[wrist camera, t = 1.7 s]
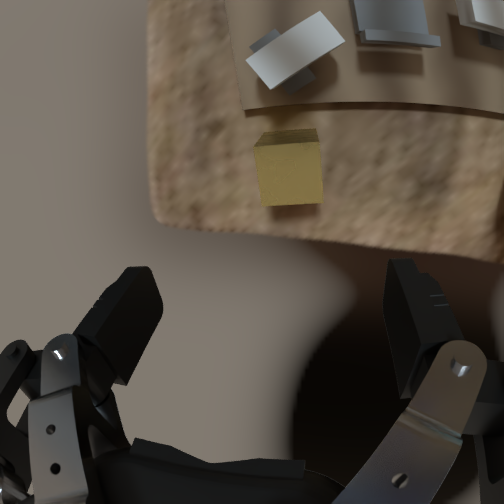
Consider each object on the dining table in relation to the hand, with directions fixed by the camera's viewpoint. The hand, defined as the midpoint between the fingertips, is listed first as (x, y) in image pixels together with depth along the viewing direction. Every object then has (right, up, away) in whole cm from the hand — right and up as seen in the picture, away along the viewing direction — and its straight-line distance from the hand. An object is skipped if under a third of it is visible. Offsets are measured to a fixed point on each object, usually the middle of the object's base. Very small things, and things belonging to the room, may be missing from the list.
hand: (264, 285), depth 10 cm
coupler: (+3, +9, +16) cm, 19 cm away
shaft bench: (+10, +21, +7) cm, 24 cm away
